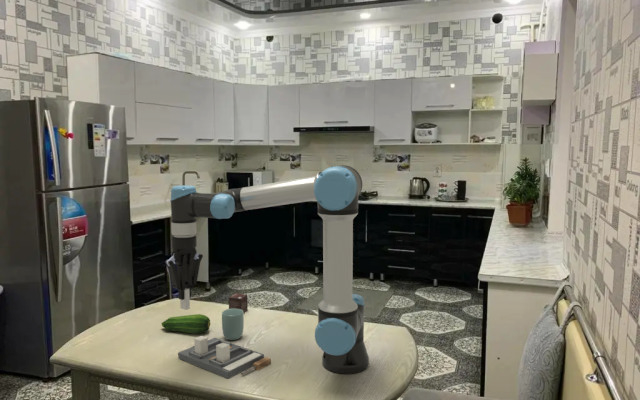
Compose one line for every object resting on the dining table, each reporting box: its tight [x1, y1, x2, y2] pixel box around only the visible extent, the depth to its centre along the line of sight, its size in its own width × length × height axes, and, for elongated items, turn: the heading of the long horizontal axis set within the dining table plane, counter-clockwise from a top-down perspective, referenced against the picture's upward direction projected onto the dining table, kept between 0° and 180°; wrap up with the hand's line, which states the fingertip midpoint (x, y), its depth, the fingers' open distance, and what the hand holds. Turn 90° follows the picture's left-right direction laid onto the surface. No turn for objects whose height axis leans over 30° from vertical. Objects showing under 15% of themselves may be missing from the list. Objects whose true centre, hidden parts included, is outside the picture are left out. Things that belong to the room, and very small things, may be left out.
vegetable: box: [160, 313, 211, 335], centre depth 185 cm, size 7×7×20 cm
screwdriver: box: [240, 356, 272, 376], centre depth 154 cm, size 12×2×2 cm, turn 143°
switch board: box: [177, 337, 265, 380], centre depth 161 cm, size 24×16×3 cm, turn 54°
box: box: [228, 292, 249, 313], centre depth 207 cm, size 6×6×7 cm
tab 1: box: [193, 335, 209, 355], centre depth 160 cm, size 3×3×5 cm
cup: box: [221, 308, 245, 341], centre depth 179 cm, size 8×8×10 cm
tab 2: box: [216, 343, 230, 363], centre depth 155 cm, size 3×3×5 cm
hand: (185, 308), depth 154 cm, fingers closed
